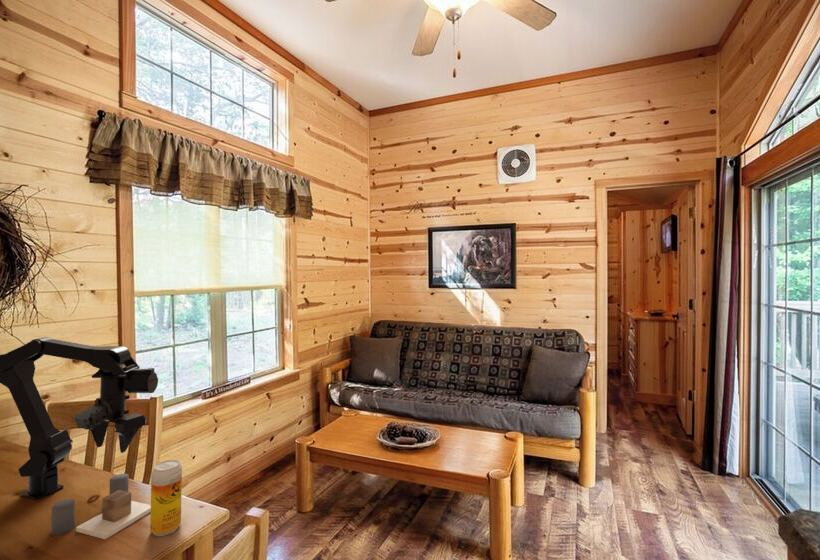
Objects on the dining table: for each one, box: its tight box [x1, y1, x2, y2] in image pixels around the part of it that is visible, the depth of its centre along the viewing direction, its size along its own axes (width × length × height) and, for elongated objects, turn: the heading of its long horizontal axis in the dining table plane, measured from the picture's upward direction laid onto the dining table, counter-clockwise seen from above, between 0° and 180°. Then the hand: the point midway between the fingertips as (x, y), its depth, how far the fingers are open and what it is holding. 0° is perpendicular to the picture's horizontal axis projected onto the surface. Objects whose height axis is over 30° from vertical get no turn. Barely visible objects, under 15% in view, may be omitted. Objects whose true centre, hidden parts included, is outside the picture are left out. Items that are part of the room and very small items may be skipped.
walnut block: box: [101, 490, 132, 522], centre depth 95 cm, size 4×4×5 cm
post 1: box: [50, 498, 76, 536], centre depth 91 cm, size 4×4×6 cm
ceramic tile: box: [75, 500, 151, 540], centre depth 95 cm, size 9×12×1 cm
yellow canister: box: [149, 459, 183, 537], centre depth 92 cm, size 6×6×15 cm
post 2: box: [108, 473, 130, 495], centre depth 104 cm, size 4×4×6 cm
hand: (111, 449), depth 109 cm, fingers open, 9 cm apart
